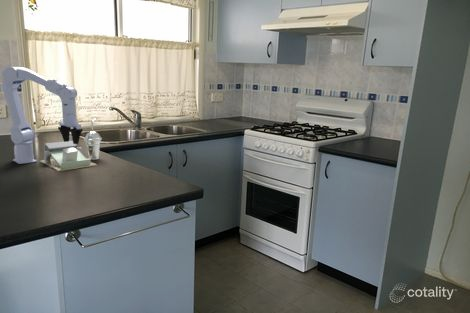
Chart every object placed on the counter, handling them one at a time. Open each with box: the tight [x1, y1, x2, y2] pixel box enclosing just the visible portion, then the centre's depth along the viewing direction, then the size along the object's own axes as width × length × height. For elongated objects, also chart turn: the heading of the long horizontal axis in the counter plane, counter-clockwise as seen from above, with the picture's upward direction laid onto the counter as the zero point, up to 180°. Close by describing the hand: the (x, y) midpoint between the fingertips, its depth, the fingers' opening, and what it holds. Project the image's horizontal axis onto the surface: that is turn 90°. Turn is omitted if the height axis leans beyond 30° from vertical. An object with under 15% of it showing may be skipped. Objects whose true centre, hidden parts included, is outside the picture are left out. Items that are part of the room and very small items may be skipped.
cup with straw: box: [83, 117, 103, 161], centre depth 190 cm, size 8×9×20 cm
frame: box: [39, 146, 97, 172], centre depth 181 cm, size 22×18×6 cm
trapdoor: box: [44, 140, 91, 168], centre depth 181 cm, size 21×13×4 cm, turn 45°
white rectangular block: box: [62, 148, 78, 162], centre depth 175 cm, size 4×5×6 cm
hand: (71, 142), depth 178 cm, fingers open, 7 cm apart
